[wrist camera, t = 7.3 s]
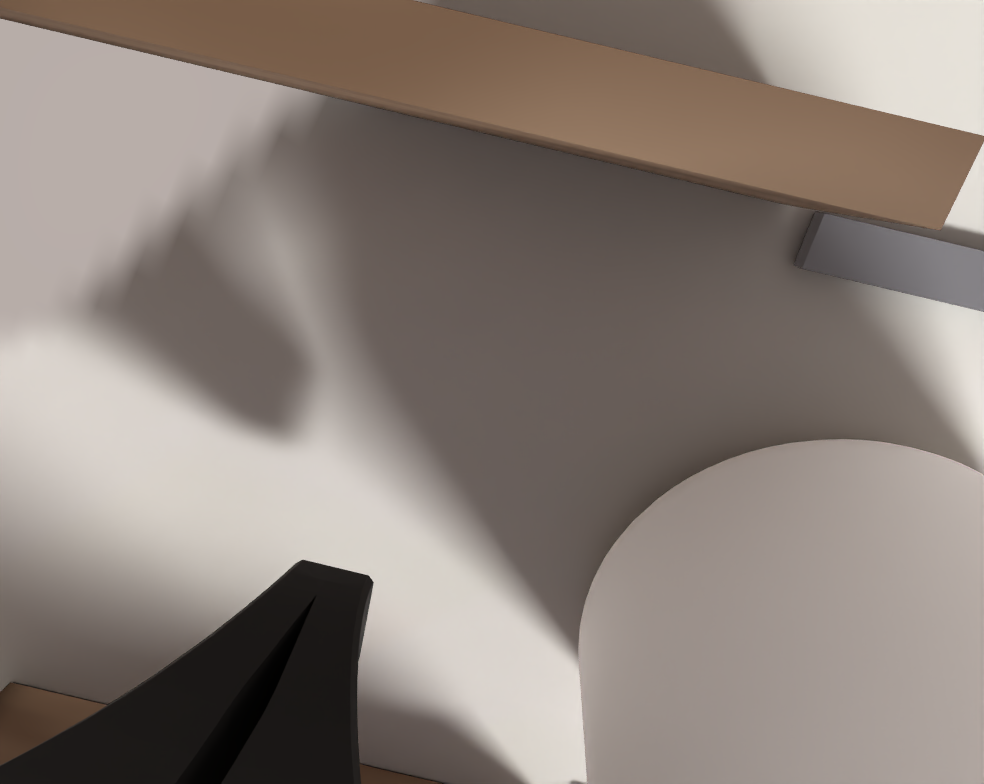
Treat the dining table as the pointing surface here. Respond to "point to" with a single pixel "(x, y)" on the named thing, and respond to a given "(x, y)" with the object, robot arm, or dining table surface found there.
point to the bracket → (894, 260)
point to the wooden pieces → (526, 131)
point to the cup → (793, 624)
